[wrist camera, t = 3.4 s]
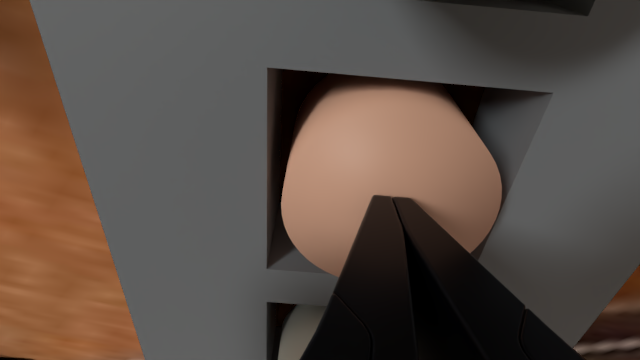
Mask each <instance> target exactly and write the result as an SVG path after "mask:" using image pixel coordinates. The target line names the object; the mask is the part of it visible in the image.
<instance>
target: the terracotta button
mask: <svg viewBox="0 0 640 360" xmlns="http://www.w3.org/2000/svg"><path fill="white" fill-rule="evenodd" d="M373 195H383V196H390V197H391V198H392V197H408V198H411V199H412V200H414V201H415V202H416V203H417V204H418V205H419V206H420V207H421V208H422V209H423V210H424V211H425V212H426V213H427V214H429V215H430V216H431V217H432V218H433V219H434V220H435V221H436V222H437V223H438V224H439V225H440V226H441V227H442V228H443V229H445V230H446V231H447V232H448V233H449V234H450V235H451V236H452V237H453V238H454V239H455V240H456V241H457V242H458V243H459V244H461V245H462V246H463V247H464V248H465V249H466V250H467V251H468V252H469V253H471V252H472V251H473V250H474V249H475V248H476V247H477V246H478V245H479V244H480V243H481V242H482V241H483V240H484V238H485V237H486V235H487V234H488V233H489V231H490V230H491V228H492V226H493V224H494V222H495V220H496V217H497V215H498V212H499V209H500V204H501V198H502V184H501V178H500V173H499V170H498V168H497V165H496V162H495V161H494V159H493V157H492V155H491V154H490V152H489V150H488V149H487V147H486V146H485V145H484V143H483V142H482V140H481V139H480V137H479V136H478V134H477V133H476V132H475V130H474V129H473V127H472V126H471V124H470V123H469V121H468V120H467V119H466V117H465V116H464V114H463V113H462V111H461V110H460V108H459V107H458V106H457V104H456V103H455V101H454V100H453V98H452V97H451V95H450V94H449V93H448V91H447V90H446V88H445V87H444V86H443V85H442V84H441V83H437V82H426V81H414V80H403V79H392V78H380V77H369V76H358V75H347V74H335V73H330V74H328V75H327V76H326V77H324V78H323V79H322V80H321V81H320V82H319V83H317V84H316V85H315V86H314V87H313V89H312V90H311V91H310V92H309V94H308V95H307V96H306V98H305V100H304V101H303V103H302V105H301V107H300V109H299V112H298V114H297V118H296V121H295V126H294V131H293V137H292V142H291V148H290V153H289V159H288V164H287V170H286V175H285V181H284V186H283V191H282V200H281V210H282V218H283V222H284V226H285V229H286V231H287V234H288V236H289V237H290V239H291V241H292V243H293V244H294V245H295V247H296V248H297V249H298V250H299V252H300V253H301V254H302V255H303V256H304V257H305V258H306V259H308V260H309V261H310V262H311V263H313V264H314V265H316V266H317V267H319V268H320V269H322V270H324V271H326V272H328V273H330V274H332V275H335V276H337V277H339V276H340V273H341V271H342V268H343V266H344V264H345V261H346V259H347V256H348V254H349V251H350V249H351V246H352V244H353V242H354V239H355V237H356V234H357V232H358V229H359V227H360V225H361V222H362V220H363V217H364V215H365V212H366V210H367V208H368V205H369V203H370V200H371V198H372V196H373Z"/></svg>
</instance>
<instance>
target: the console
mask: <svg viewBox="0 0 640 360" xmlns="http://www.w3.org/2000/svg"><path fill="white" fill-rule="evenodd" d="M30 3H31V6H32V9H33V12H34V15H35V18H36V22H37V25H38V28H39V31H40V34H41V37H42V40H43V43H44V46H45V50H46V53H47V56H48V59H49V62H50V65H51V68H52V71H53V74H54V78H55V81H56V84H57V87H58V90H59V93H60V96H61V99H62V102H63V106H64V109H65V112H66V115H67V118H68V121H69V124H70V127H71V130H72V134H73V137H74V140H75V143H76V146H77V149H78V152H79V155H80V158H81V162H82V165H83V168H84V171H85V174H86V177H87V180H88V183H89V186H90V190H91V193H92V196H93V199H94V202H95V205H96V208H97V211H98V214H99V218H100V221H101V224H102V227H103V230H104V233H105V236H106V239H107V242H108V246H109V249H110V252H111V255H112V258H113V261H114V264H115V267H116V270H117V274H118V277H119V280H120V283H121V286H122V289H123V292H124V295H125V298H126V302H127V305H128V308H129V311H130V314H131V317H132V320H133V323H134V326H135V329H136V333H137V336H138V339H139V342H140V345H141V348H142V351H143V354H144V357H145V360H278V354H279V346H280V338H281V330H282V327H276V305H277V303H288V304H302V305H316V306H327V304H328V302H329V299H330V297H331V295H332V293H333V290H334V288H335V285H336V283H337V281H338V278H339V277H337V276H335V275H332V274H330V273H328V272H326V271H324V270H322V269H320V268H319V267H317V266H316V265H314V264H313V263H311V262H310V261H309V260H308V259H306V258H305V257H304V256H303V255H302V254H301V253H300V252H299V250H298V249H297V248H296V247H295V245H294V244H293V243H292V241H291V239H290V237H289V236H288V234H287V231H286V229H285V226H284V222H283V218H282V210H281V203H279V188H280V150H281V111H282V72H283V69H290V70H301V71H313V72H324V73H335V74H347V75H358V76H369V77H380V78H392V79H403V80H414V81H426V82H437V83H448V84H460V85H471V86H482V87H485V89H484V92H483V95H482V98H481V101H480V104H479V107H478V110H477V113H476V116H475V119H474V122H473V125H472V127H473V129H474V130H475V132H476V133H477V134H478V136H479V137H480V139H481V140H482V142H483V143H484V145H485V146H486V147H487V149H488V150H489V152H490V154H491V155H492V157H493V159H494V161H495V162H496V165H497V168H498V170H499V173H500V178H501V184H502V198H501V204H500V209H499V212H498V215H497V217H496V220H495V222H494V224H493V226H492V228H491V230H490V231H489V233H488V234H487V235H486V237H485V238H484V240H483V241H482V242H481V243H480V244H479V245H478V246H477V247H476V248H475V249H474V250H473V251H472V252H471V253H470V254H471V255H472V256H473V257H474V258H475V259H477V260H478V261H479V262H480V263H481V264H482V265H483V266H484V267H485V268H486V269H487V270H488V271H489V272H490V273H491V274H493V275H494V276H495V277H496V278H497V279H498V280H499V281H500V282H501V283H502V284H503V285H504V286H505V287H506V288H507V289H509V290H510V291H511V292H512V293H513V294H514V295H515V296H516V297H517V298H518V299H519V300H520V301H521V302H522V303H523V304H525V306H526V308H525V309H527V308H528V309H530V310H531V311H532V312H533V313H534V314H535V315H536V316H538V317H539V318H540V319H541V320H542V321H543V322H544V323H545V324H546V325H547V326H548V327H549V328H550V329H552V330H553V331H554V332H555V333H556V334H557V335H558V336H559V337H560V338H562V339H563V340H564V341H565V342H566V343H567V344H568V345H569V346H570V347H572V348H573V347H574V346H575V345H576V344H577V342H578V341H579V340H580V339H581V337H582V336H583V335H584V333H585V332H586V331H587V330H588V328H589V327H590V326H591V325H592V323H593V322H594V321H595V320H596V318H597V317H598V316H599V315H600V313H601V312H602V311H603V310H604V308H605V307H606V306H607V305H608V303H609V302H610V301H611V300H612V298H613V297H614V296H615V295H616V293H617V292H618V291H619V290H620V288H621V287H622V286H623V285H624V283H625V282H626V281H627V280H628V278H629V277H630V276H631V275H632V273H633V272H634V271H635V270H636V268H637V267H638V266H639V264H640V0H30Z"/></svg>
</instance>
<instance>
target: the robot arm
mask: <svg viewBox="0 0 640 360" xmlns="http://www.w3.org/2000/svg"><path fill="white" fill-rule="evenodd" d="M525 308H526V306H525V304H523V303H522V302H521V301H520V300H519V299H518V298H517V297H516V296H515V295H514V294H513V293H512V292H511V291H510V290H509V289H507V288H506V287H505V286H504V285H503V284H502V283H501V282H500V281H499V280H498V279H497V278H496V277H495V276H494V275H493V274H491V273H490V272H489V271H488V270H487V269H486V268H485V267H484V266H483V265H482V264H481V263H480V262H479V261H478V260H477V259H475V258H474V257H473V256H472V255H471V254H470V253H469V252H468V251H467V250H466V249H465V248H464V247H463V246H462V245H461V244H459V243H458V242H457V241H456V240H455V239H454V238H453V237H452V236H451V235H450V234H449V233H448V232H447V231H446V230H445V229H443V228H442V227H441V226H440V225H439V224H438V223H437V222H436V221H435V220H434V219H433V218H432V217H431V216H430V215H429V214H427V213H426V212H425V211H424V210H423V209H422V208H421V207H420V206H419V205H418V204H417V203H416V202H415V201H414V200H412V199H411V198H408V197H392V198H391V197H390V196H383V195H373V196H372V198H371V200H370V203H369V205H368V208H367V210H366V212H365V215H364V217H363V220H362V222H361V225H360V227H359V229H358V232H357V234H356V237H355V239H354V242H353V244H352V246H351V249H350V251H349V254H348V256H347V259H346V261H345V264H344V266H343V268H342V271H341V273H340V276H339V278H338V281H337V283H336V285H335V288H334V290H333V293H332V295H331V297H330V299H329V302H328V304H327V307H326V309H325V311H324V314H323V316H322V318H321V320H320V322H319V324H318V327H317V329H316V331H315V333H314V335H313V336H312V338H311V340H310V342H309V344H308V345H307V347H306V349H305V351H304V352H303V354H302V356H301V358H300V359H299V360H586V359H585V358H583V357H582V356H581V355H580V354H579V353H577V352H576V351H575V350H574V349H573V348H572V347H570V346H569V345H568V344H567V343H566V342H565V341H564V340H563V339H562V338H560V337H559V336H558V335H557V334H556V333H555V332H554V331H553V330H552V329H550V328H549V327H548V326H547V325H546V324H545V323H544V322H543V321H542V320H541V319H540V318H539V317H538V316H536V315H535V314H534V313H533V312H532V311H531V310H530V309H528V308H527V309H525Z"/></svg>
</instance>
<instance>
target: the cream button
mask: <svg viewBox="0 0 640 360" xmlns="http://www.w3.org/2000/svg"><path fill="white" fill-rule="evenodd" d="M326 307H327V306H316V305H302V304H298V305H296V306H295V307H294V308H293V309H292V310H291V311H290V312H289V313H288V314H287V316H286V317H285V319H284V321H283V324H282V330H281V338H280V346H279V354H278V360H299V359H300V358H301V356H302V354H303V352H304V351H305V349H306V347H307V345H308V344H309V342H310V340H311V338H312V336H313V335H314V333H315V331H316V329H317V327H318V324H319V322H320V320H321V318H322V316H323V314H324V311H325V309H326Z"/></svg>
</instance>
